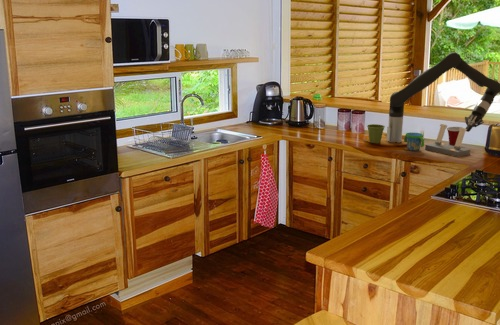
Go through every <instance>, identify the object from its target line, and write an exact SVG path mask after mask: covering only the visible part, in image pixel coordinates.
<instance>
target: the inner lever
mask: <svg viewBox="0 0 500 325" xmlns="http://www.w3.org/2000/svg"><path fill="white" fill-rule="evenodd" d="M447 128H448V125H447V124H444V123H443V124H442V123H440V125H439V131H438V133H437V137H436V140H435V141H434V143H435V144H438V145H441V144H442V143H443V139H444V136H445V132H446V130H447Z"/></svg>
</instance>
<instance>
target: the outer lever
mask: <svg viewBox="0 0 500 325" xmlns="http://www.w3.org/2000/svg"><path fill="white" fill-rule="evenodd" d="M465 128H466V127H463V128H459V130H460V131H459V134H458V137H457V140H456V144H455V146H454V148H456V149H461V148H462V143H463V140H464V137H465V134H466V132H467V131H466V130H467V129H465Z"/></svg>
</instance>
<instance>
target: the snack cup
mask: <svg viewBox="0 0 500 325" xmlns="http://www.w3.org/2000/svg"><path fill="white" fill-rule="evenodd" d="M403 142H404V143H406V149H407V150H409V151H414V152H417V151H420V150H421V148H424V147H425V139H424V134H423V133H420V132H406V133H405V135H404V138H403Z"/></svg>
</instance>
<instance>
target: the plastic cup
mask: <svg viewBox="0 0 500 325" xmlns="http://www.w3.org/2000/svg"><path fill="white" fill-rule="evenodd" d="M459 128H464V127H463V126H449V127H448V126H447V128H446V130H447V134H448V142H449V144H448V145H452V146H455V144H456V140H457V137H458V134H459V131H460V130H459Z"/></svg>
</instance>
